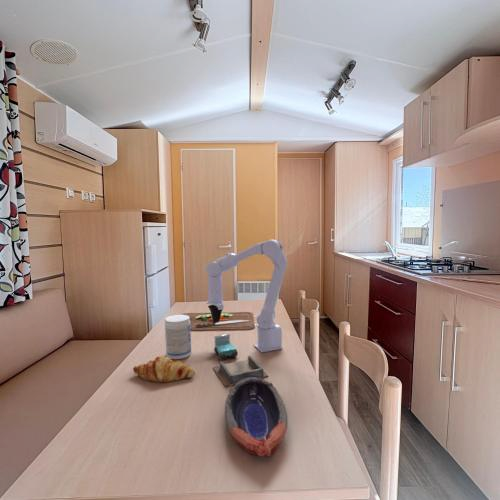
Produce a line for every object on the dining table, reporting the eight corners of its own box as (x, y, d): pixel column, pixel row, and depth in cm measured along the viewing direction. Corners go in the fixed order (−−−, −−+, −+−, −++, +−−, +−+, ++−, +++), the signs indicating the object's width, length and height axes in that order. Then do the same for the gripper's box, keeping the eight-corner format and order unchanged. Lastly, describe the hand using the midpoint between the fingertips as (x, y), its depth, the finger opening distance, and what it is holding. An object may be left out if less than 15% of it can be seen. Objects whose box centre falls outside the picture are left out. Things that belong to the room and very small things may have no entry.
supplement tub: (195, 356, 117) (194, 318, 116) (171, 362, 112) (169, 323, 110) (185, 347, 125) (184, 312, 124) (162, 353, 120) (161, 316, 118)
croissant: (197, 383, 104) (199, 358, 107) (190, 383, 95) (193, 356, 98) (137, 380, 105) (141, 356, 108) (124, 380, 96) (129, 354, 99)
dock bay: (251, 359, 114) (251, 351, 113) (268, 376, 101) (268, 368, 101) (212, 367, 108) (212, 359, 107) (225, 386, 95) (225, 377, 95)
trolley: (230, 349, 123) (230, 333, 123) (238, 358, 115) (238, 341, 114) (213, 352, 120) (212, 336, 120) (220, 361, 112) (219, 344, 111)
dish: (277, 389, 94) (277, 373, 93) (296, 469, 63) (296, 446, 63) (227, 390, 93) (227, 374, 93) (221, 472, 63) (221, 449, 62)
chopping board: (257, 314, 172) (257, 308, 172) (260, 330, 145) (260, 324, 145) (177, 315, 171) (177, 310, 171) (165, 332, 144) (165, 326, 144)
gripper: (201, 287, 132) (202, 318, 133) (211, 295, 118) (211, 329, 119) (217, 286, 134) (217, 316, 136) (228, 293, 121) (228, 326, 122)
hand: (216, 322), depth 128 cm, fingers closed
